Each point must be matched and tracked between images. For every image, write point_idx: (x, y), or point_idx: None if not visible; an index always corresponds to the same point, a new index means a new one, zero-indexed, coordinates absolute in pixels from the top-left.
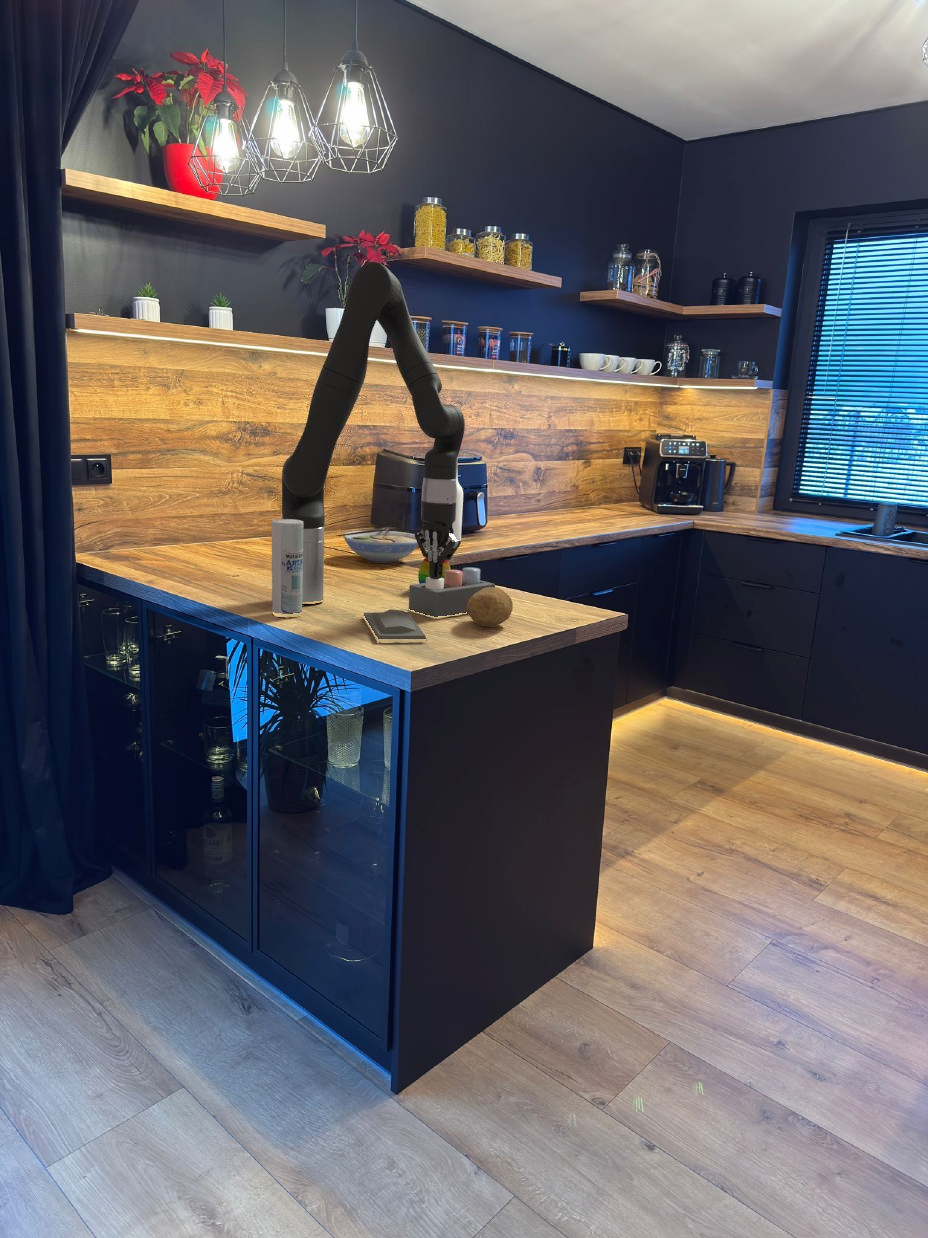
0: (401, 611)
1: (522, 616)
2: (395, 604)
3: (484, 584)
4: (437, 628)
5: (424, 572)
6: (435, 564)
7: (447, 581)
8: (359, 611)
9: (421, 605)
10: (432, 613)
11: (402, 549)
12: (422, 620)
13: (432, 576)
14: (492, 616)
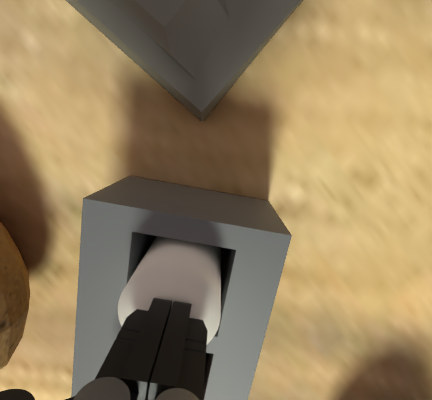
0: (153, 1)
1: (7, 387)
2: (362, 246)
3: None
4: (41, 79)
5: None
6: (125, 372)
7: None
8: (403, 61)
9: (200, 196)
10: (142, 182)
11: None
12: (152, 133)
13: (166, 302)
14: None
